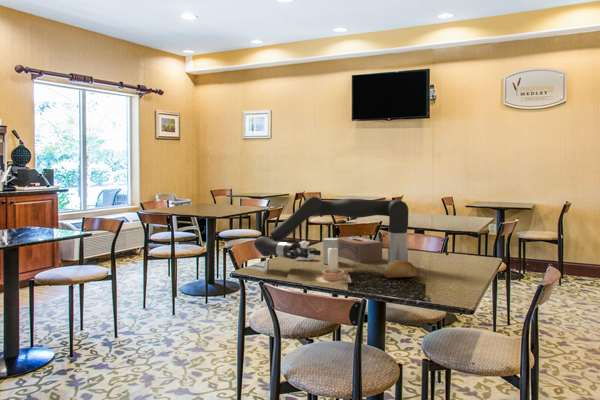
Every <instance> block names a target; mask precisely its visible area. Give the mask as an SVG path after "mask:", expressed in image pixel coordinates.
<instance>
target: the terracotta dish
mask: <svg viewBox="0 0 600 400" xmlns="http://www.w3.org/2000/svg"><path fill="white" fill-rule="evenodd" d="M321 274H322V279H324V280H328V281H339V280H343V279H344V275H345V271H344V270H342V269H338V273H328V269H323V270H322V271H321Z"/></svg>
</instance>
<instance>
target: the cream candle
mask: <svg viewBox="0 0 600 400" xmlns="http://www.w3.org/2000/svg"><path fill="white" fill-rule="evenodd" d="M327 270H328V273H338V270H339V256H338V248H333V246H332V248H328V264H327Z"/></svg>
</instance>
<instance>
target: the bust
mask: <svg viewBox="0 0 600 400" xmlns="http://www.w3.org/2000/svg"><path fill="white" fill-rule="evenodd" d="M298 243H299V244H300V247H303V248H306V247H309V245H310V241H307V240H302V241H299V242H298ZM299 244H298V245H299ZM315 257H316V255H309V256H308V258H302V257H301V258H296V259H295V260H296V261H301V262H302V261H312V260H314V259H315Z"/></svg>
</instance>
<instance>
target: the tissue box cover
mask: <svg viewBox="0 0 600 400" xmlns="http://www.w3.org/2000/svg"><path fill="white" fill-rule="evenodd" d="M337 238H338V258H343V259H346V260H349V261H353V262H355V263H357V264H358V263H359V264H361V263H370V262H371V261H372V262H378V261H383V241H378V240H374V239H370V238H365V237H361V236H357V235H353V236H342V237H341V236H340V237H337ZM372 262H371V263H372Z"/></svg>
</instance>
